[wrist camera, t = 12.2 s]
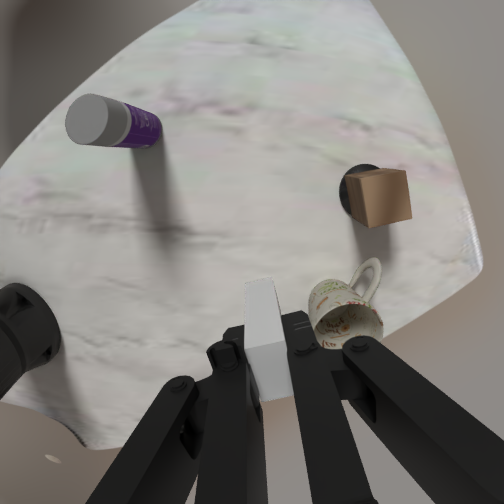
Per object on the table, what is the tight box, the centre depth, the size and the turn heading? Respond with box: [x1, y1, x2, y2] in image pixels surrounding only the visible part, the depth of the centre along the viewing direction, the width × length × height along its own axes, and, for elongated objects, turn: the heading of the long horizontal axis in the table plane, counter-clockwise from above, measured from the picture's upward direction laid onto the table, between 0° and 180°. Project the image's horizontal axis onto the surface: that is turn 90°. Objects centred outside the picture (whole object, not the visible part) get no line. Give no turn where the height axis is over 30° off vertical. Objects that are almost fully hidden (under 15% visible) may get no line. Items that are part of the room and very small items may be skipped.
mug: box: [309, 257, 383, 349], centre depth 37 cm, size 8×13×10 cm, turn 153°
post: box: [339, 164, 380, 215], centre depth 35 cm, size 7×7×7 cm
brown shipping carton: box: [345, 168, 412, 228], centre depth 34 cm, size 5×5×7 cm
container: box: [65, 94, 162, 148], centre depth 30 cm, size 5×5×15 cm
